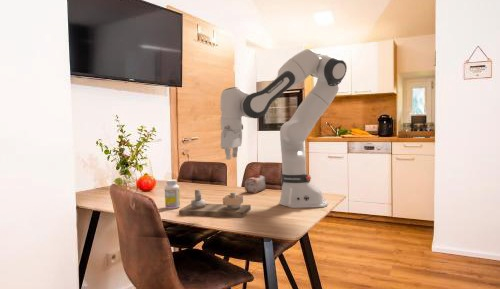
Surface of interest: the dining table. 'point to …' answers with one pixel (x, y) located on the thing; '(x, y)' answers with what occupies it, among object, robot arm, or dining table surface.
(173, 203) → the supplement bottle
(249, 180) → the food item
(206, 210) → the board
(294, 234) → the dining table surface
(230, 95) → the robot arm
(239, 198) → the tan faceted disc
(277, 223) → the dining table surface
